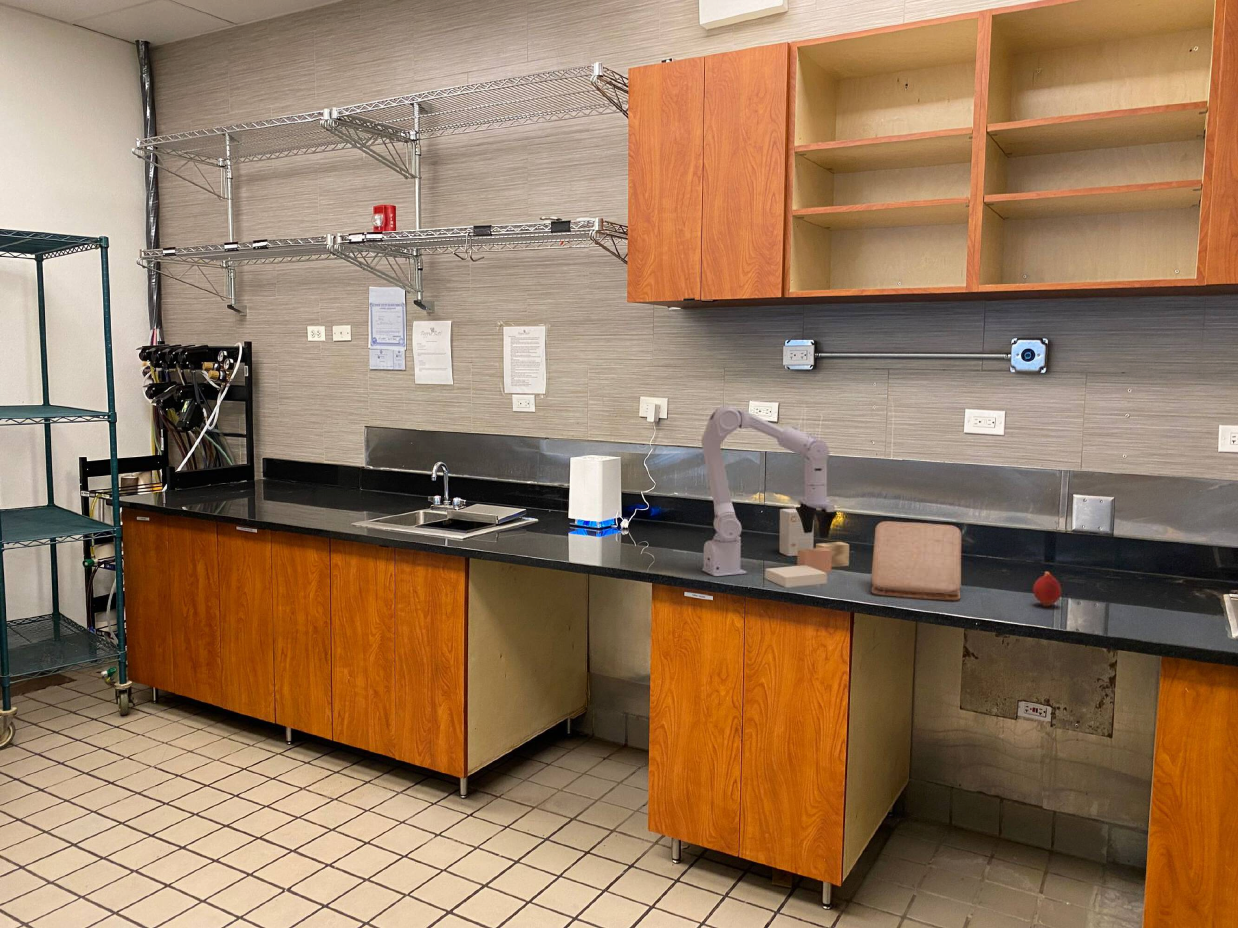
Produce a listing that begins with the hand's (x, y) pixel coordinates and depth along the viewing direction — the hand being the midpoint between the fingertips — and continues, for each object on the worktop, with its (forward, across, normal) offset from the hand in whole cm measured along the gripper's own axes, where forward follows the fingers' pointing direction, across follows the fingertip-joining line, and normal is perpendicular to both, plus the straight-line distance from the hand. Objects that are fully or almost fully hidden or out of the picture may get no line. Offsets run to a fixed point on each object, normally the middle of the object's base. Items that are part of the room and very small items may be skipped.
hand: (815, 534), depth 238 cm
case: (+11, -25, -12) cm, 30 cm away
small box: (+10, +22, -7) cm, 25 cm away
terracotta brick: (+10, 0, +1) cm, 10 cm away
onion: (+11, -49, -29) cm, 58 cm away
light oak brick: (+10, +5, -8) cm, 14 cm away
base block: (+10, -7, +11) cm, 16 cm away
